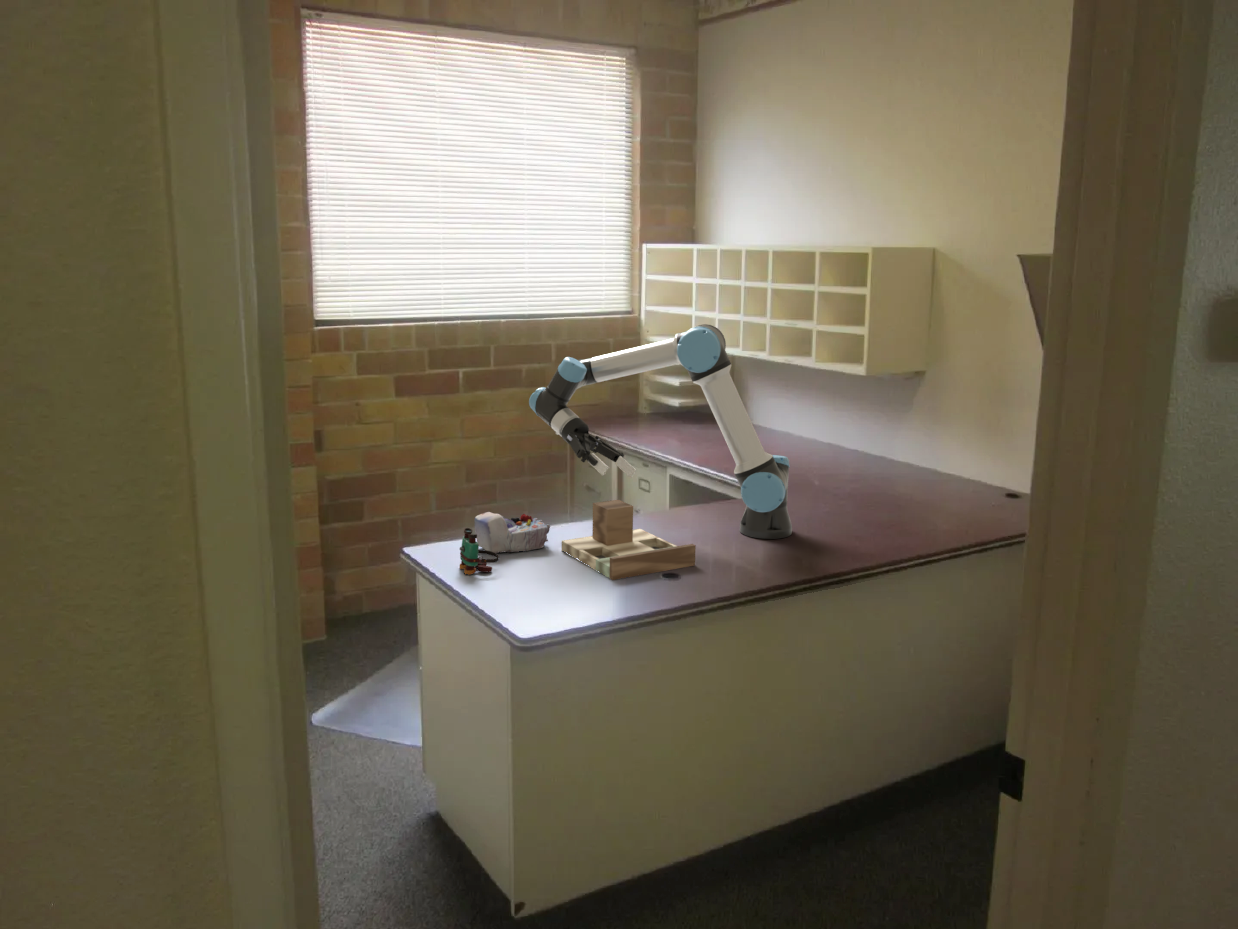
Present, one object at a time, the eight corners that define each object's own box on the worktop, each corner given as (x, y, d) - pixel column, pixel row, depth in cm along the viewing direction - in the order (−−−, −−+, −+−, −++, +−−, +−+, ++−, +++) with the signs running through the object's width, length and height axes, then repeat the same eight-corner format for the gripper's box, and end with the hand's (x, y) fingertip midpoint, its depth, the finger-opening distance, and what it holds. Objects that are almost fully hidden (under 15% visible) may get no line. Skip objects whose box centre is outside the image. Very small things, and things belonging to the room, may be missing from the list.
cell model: (469, 509, 272) (532, 501, 284) (469, 547, 275) (531, 538, 286) (492, 520, 262) (556, 511, 274) (491, 559, 264) (556, 549, 276)
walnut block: (592, 538, 275) (592, 502, 272) (617, 534, 279) (618, 499, 276) (607, 545, 268) (607, 509, 266) (632, 541, 272) (633, 506, 270)
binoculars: (504, 535, 252) (465, 535, 248) (500, 575, 254) (462, 576, 250) (494, 526, 260) (456, 526, 256) (490, 565, 262) (453, 566, 258)
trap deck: (561, 551, 273) (561, 531, 271) (639, 538, 285) (639, 520, 284) (612, 580, 250) (612, 559, 248) (695, 565, 262) (695, 545, 261)
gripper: (589, 441, 293) (637, 485, 283) (536, 434, 272) (586, 481, 262) (602, 420, 291) (651, 464, 281) (550, 412, 270) (600, 458, 260)
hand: (619, 472), depth 272 cm, fingers open, 13 cm apart
